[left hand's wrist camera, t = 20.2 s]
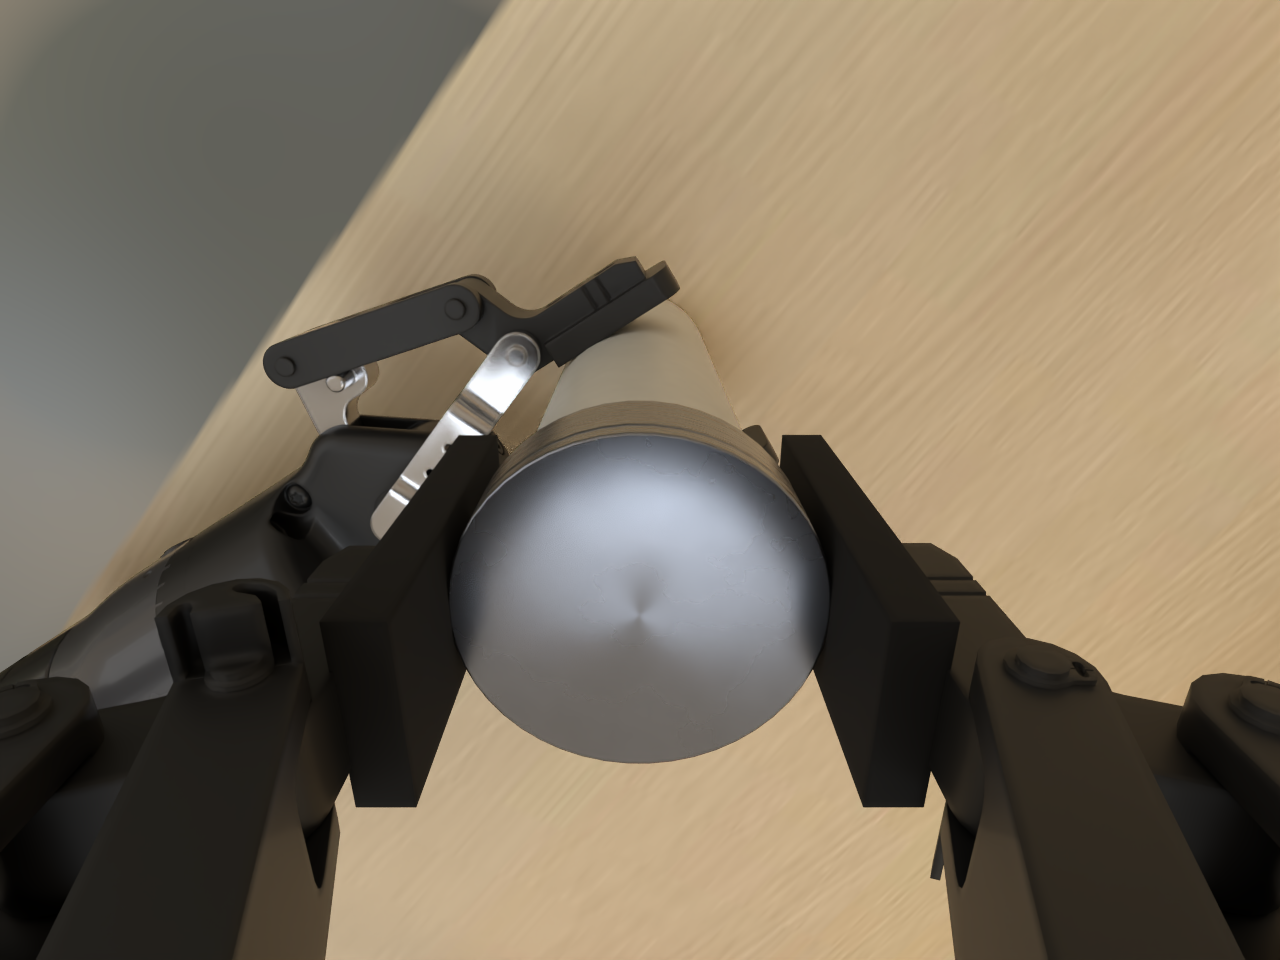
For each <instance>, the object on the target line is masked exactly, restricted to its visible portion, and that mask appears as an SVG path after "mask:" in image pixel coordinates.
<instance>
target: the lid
mask: <svg viewBox="0 0 1280 960" xmlns="http://www.w3.org/2000/svg"><path fill="white" fill-rule="evenodd" d="M448 601H449V610H450V618H451V627H452V634H453V638H454V641H455V645H456V647H457V650H458V652H459V655H460V657H461V659H462V662H463V664H464V666H465V668H466V669H467V671H468V673H469V674H470V676H471V678H472V679H473V681H474V683H475V684H476V685H477V686H478V688H479V689H480V690H481V692H482V693H483V694H484V695H485V697H486V698H487V699H488V700H489V701H490V702H491V703H492V704H493V705H494V706H495V707H496V708H497V709H498V710H499V711H500V712H501V713H502V714H503V715H504V716H506V717H507V718H508V719H510V720H511V721H512V722H513V723H515V724H516V725H517V726H519V727H520V728H521V729H523V730H525V731H526V732H528V733H530V734H531V735H533V736H535V737H536V738H538V739H540V740H542V741H544V742H546V743H549V744H551V745H553V746H555V747H557V748H560V749H562V750H565V751H568V752H571V753H574V754H578V755H581V756H584V757H589V758H594V759H598V760H603V761H611V762H620V763H659V762H669V761H676V760H681V759H686V758H691V757H695V756H698V755H701V754H705V753H708V752H711V751H714V750H717V749H719V748H722V747H724V746H726V745H728V744H731V743H733V742H735V741H737V740H739V739H741V738H743V737H744V736H746V735H748V734H749V733H751V732H753V731H755V730H756V729H758V728H759V727H760V726H762V725H763V724H764V723H766V722H767V721H768V720H770V719H771V718H772V717H774V716H775V715H776V714H777V713H778V712H779V711H780V710H781V709H782V708H783V707H784V706H785V705H786V704H787V703H789V701H790V700H791V699H792V698H793V697H794V695H795V694H796V693H797V692H798V690H799V689H800V688H801V687H802V686H803V684H804V682H805V681H806V679H807V678H808V676H809V674H810V673H811V671H812V670H813V668H814V666H815V664H816V662H817V659H818V657H819V655H820V653H821V650H822V648H823V645H824V641H825V638H826V634H827V630H828V623H829V614H830V606H831V580H830V574H829V569H828V563H827V559H826V556H825V553H824V551H823V548H822V545H821V542H820V539H819V537H818V535H817V533H816V531H815V530H814V528H813V526H812V524H811V522H810V520H809V518H808V516H807V514H806V512H805V510H804V508H803V506H802V504H801V503H800V501H799V499H798V497H797V495H796V493H795V491H794V489H793V487H792V485H791V483H790V482H789V480H788V478H787V476H786V475H785V474H784V472H783V471H782V470H781V468H780V467H779V465H778V464H777V463H776V461H775V460H774V459H773V458H772V457H771V456H770V455H769V454H768V453H767V452H766V451H765V450H764V449H763V448H762V447H761V446H760V445H759V444H758V443H757V442H755V441H754V440H753V439H752V438H750V437H749V436H748V435H746V434H745V433H744V432H743V431H741V430H739V429H738V428H736V427H734V426H733V425H731V424H729V423H727V422H726V421H724V420H722V419H720V418H718V417H715V416H713V415H710V414H708V413H705V412H703V411H701V410H697V409H694V408H690V407H686V406H682V405H679V404H673V403H666V402H658V401H621V402H613V403H605V404H601V405H597V406H593V407H589V408H585V409H581V410H579V411H576V412H574V413H571V414H569V415H566V416H564V417H561V418H559V419H557V420H555V421H554V422H552V423H550V424H548V425H546V426H545V427H543V428H541V429H539V430H538V431H537V432H535V433H534V434H533V435H531V436H530V437H529V438H527V439H526V440H525V441H523V442H522V443H521V444H520V445H519V446H518V447H517V448H516V449H515V450H514V451H513V452H512V453H511V454H510V455H509V456H508V457H507V458H506V459H505V460H504V462H503V463H502V464H501V466H500V467H499V468H498V470H497V471H496V472H495V474H494V475H493V477H492V478H491V480H490V482H489V484H488V486H487V488H486V489H485V491H484V493H483V495H482V497H481V499H480V501H479V503H478V504H477V506H476V508H475V510H474V512H473V514H472V516H471V518H470V520H469V522H468V524H467V526H466V527H465V529H464V531H463V533H462V535H461V537H460V540H459V542H458V545H457V548H456V551H455V553H454V556H453V559H452V564H451V569H450V574H449V579H448Z"/></svg>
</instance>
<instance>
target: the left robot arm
mask: <svg viewBox="0 0 1280 960" xmlns="http://www.w3.org/2000/svg"><path fill="white" fill-rule="evenodd" d="M499 467H500V464H499V452H498V439H497V435H458V437H457V438H456V439H455V441H454V442H453V443H452V445H451V446H450V447H449V449H448V450H447V451H446V453H445V454H444V455H443V457H442V458H441V459H440V461H439V462H438V463H437V465H436V466H435V467H434V469H433V470H432V471H431V473H430V474H429V475H428V477H427V478H426V479H425V481H424V482H423V483H422V485H421V486H420V488H419V489H418V490H417V492H416V493H415V494H414V496H413V497H412V498H411V500H410V501H409V502H408V504H407V505H406V506H405V508H404V509H403V510H402V512H401V513H400V514H399V516H398V517H397V518H396V520H395V521H394V522H393V524H392V525H391V526H390V528H389V529H388V530H387V532H386V533H385V534H384V536H383V537H382V538H381V540H380V541H379V542H378V544H377V545H356V546H347V547H346V548H344V549H342V550H341V551H339V552H337V553H336V554H334V555H332V556H331V557H329V558H327V559H325V560H324V561H322V563H321V564H320V565H319V566H318V567H317V568H316V570H315V571H314V572H313V573H312V574H311V575H310V577H309V578H308V579H307V583H303V585H302V586H301V587H300V588H299V589H298V590H297V592H296V593H295V594H294V598H291V596H290V591H289V588H287V587H286V586H284V585H283V584H281V583H280V582H279V581H273V580H268V579H263V578H250V579H235V580H230V581H226V582H221V583H216V584H211V585H209V586H206V587H203V588H200V589H198V590H195V591H192V592H190V593H187V594H185V595H184V596H182V597H180V598H178V599H177V600H175V601H173V602H171V603H170V604H168V605H167V606H166V607H165V608H164V609H163V610H162V611H161V612H160V613H159V614H158V615H157V616H156V617H155V618H154V620H155V623H156V627H157V630H158V633H159V637H160V640H161V643H162V647H163V650H164V653H165V657H166V660H167V663H168V667H169V670H170V673H171V677H172V680H173V684H172V686H171V688H170V690H169V692H168V694H167V695H166V696H163V697H159V698H154V699H149V700H144V701H139V702H134V703H129V704H124V705H118V706H113V707H108V708H103V709H98V710H97V707H96V704H95V702H94V699H93V696H92V693H91V690H90V688H89V686H88V685H86V684H85V683H83V682H82V681H81V680H79V679H77V678H68V677H58V676H57V677H49V678H42V679H30V680H26V681H21V682H17V684H15V685H13V684H10V685H7V686H4V687H1V688H0V960H325V955H326V947H327V939H328V930H329V922H330V913H331V905H332V896H333V888H334V880H335V871H336V863H337V854H338V846H339V837H340V829H339V823H338V817H337V812H336V807H335V803H334V802H335V800H336V798H337V796H338V794H339V792H340V790H341V788H342V786H343V784H344V782H345V780H346V778H347V776H348V774H349V775H350V780H351V785H352V790H353V795H354V800H355V805H356V807H417V804H418V801H419V798H420V796H421V793H422V790H423V787H424V785H425V782H426V779H427V776H428V774H429V771H430V768H431V765H432V763H433V760H434V757H435V754H436V752H437V749H438V746H439V743H440V741H441V738H442V735H443V732H444V730H445V727H446V724H447V721H448V719H449V716H450V713H451V710H452V708H453V705H454V702H455V699H456V697H457V694H458V691H459V688H460V686H461V683H462V680H463V677H464V675H465V672H466V668H465V666H464V664H463V662H462V659H461V657H460V655H459V652H458V650H457V647H456V645H455V641H454V638H453V634H452V627H451V618H450V610H449V601H448V579H449V574H450V569H451V564H452V559H453V556H454V553H455V551H456V548H457V545H458V542H459V540H460V537H461V535H462V533H463V531H464V529H465V527H466V526H467V524H468V522H469V520H470V518H471V516H472V514H473V512H474V510H475V508H476V506H477V504H478V503H479V501H480V499H481V497H482V495H483V493H484V491H485V489H486V488H487V486H488V484H489V482H490V480H491V478H492V477H493V475H494V474H495V472H496V471H497V470H498V468H499ZM780 468H781V470H782V471H783V472H784V474H785V475H786V476H787V478H788V480H789V482H790V483H791V485H792V487H793V489H794V491H795V493H796V495H797V497H798V499H799V501H800V503H801V504H802V506H803V508H804V510H805V512H806V514H807V516H808V518H809V520H810V522H811V524H812V526H813V528H814V530H815V531H816V533H817V535H818V537H819V539H820V542H821V545H822V548H823V551H824V553H825V556H826V559H827V563H828V569H829V574H830V580H831V606H830V614H829V623H828V630H827V634H826V638H825V641H824V645H823V648H822V650H821V653H820V655H819V657H818V659H817V662H816V664H815V666H814V668H813V670H814V673H815V676H816V678H817V681H818V684H819V687H820V690H821V692H822V695H823V698H824V701H825V703H826V706H827V709H828V712H829V714H830V717H831V720H832V723H833V725H834V728H835V731H836V734H837V736H838V739H839V742H840V745H841V747H842V750H843V753H844V756H845V758H846V761H847V764H848V767H849V769H850V772H851V775H852V778H853V780H854V783H855V786H856V789H857V791H858V794H859V797H860V800H861V802H862V805H863V807H924V803H925V798H926V793H927V788H928V783H929V778H930V773H931V771H932V773H933V775H934V777H935V779H936V781H937V783H938V785H939V787H940V789H941V791H942V793H943V795H944V797H945V799H946V803H945V807H944V812H943V817H942V821H941V826H940V831H939V836H938V840H937V845H936V850H935V854H934V859H933V864H932V870H931V876H930V878H932V879H936V880H940V878H941V874H942V869H943V865H944V869H945V878H946V886H947V894H948V903H949V911H950V920H951V928H952V937H953V945H954V953H955V960H1280V684H1278V683H1275V682H1272V681H1269V680H1268V681H1264V679H1261V678H1257V677H1252V676H1242V675H1234V674H1226V673H1219V674H1210V675H1202V676H1201V677H1199V678H1198V679H1197V680H1195V681H1194V682H1192V683H1191V686H1190V689H1189V691H1188V694H1187V697H1186V700H1185V703H1184V706H1178V705H1173V704H1168V703H1163V702H1158V701H1152V700H1147V699H1142V698H1137V697H1132V696H1127V695H1122V694H1118V693H1114V692H1112V691H1111V689H1110V687H1109V685H1108V683H1107V681H1106V680H1105V679H1104V677H1103V676H1102V675H1101V674H1100V672H1099V671H1098V670H1097V669H1096V668H1095V667H1094V666H1093V665H1091V664H1090V663H1088V662H1087V661H1085V660H1084V659H1082V658H1081V657H1080V656H1078V655H1077V654H1075V653H1072V652H1070V651H1068V650H1065V649H1063V648H1061V647H1058V646H1056V645H1054V644H1050V643H1046V642H1042V641H1038V640H1034V639H1029V638H1026V637H1025V636H1024V635H1023V634H1022V633H1021V632H1020V630H1019V629H1018V628H1017V627H1016V626H1015V625H1014V624H1013V622H1012V621H1011V620H1010V619H1009V618H1008V617H1007V615H1006V614H1005V613H1004V612H1003V611H1002V610H1001V609H1000V607H999V606H998V605H997V604H996V603H995V602H994V600H993V599H992V598H991V597H990V596H986V591H985V590H984V589H983V588H982V587H981V586H980V584H979V583H978V582H977V581H976V580H973V576H972V575H971V574H970V573H969V572H968V571H967V569H966V568H965V567H964V566H963V565H962V564H961V562H960V561H959V560H958V559H957V558H955V557H954V556H952V555H950V554H948V553H947V552H945V551H943V550H942V549H940V548H938V547H936V546H935V545H933V544H931V543H901V542H900V540H899V539H898V538H897V536H896V535H895V534H894V532H893V531H892V530H891V528H890V527H889V526H888V524H887V523H886V522H885V520H884V519H883V518H882V516H881V515H880V514H879V512H878V511H877V510H876V508H875V507H874V506H873V504H872V503H871V501H870V500H869V499H868V497H867V496H866V495H865V493H864V492H863V491H862V489H861V488H860V487H859V485H858V484H857V483H856V481H855V480H854V479H853V477H852V476H851V475H850V473H849V472H848V471H847V469H846V468H845V467H844V465H843V464H842V463H841V461H840V460H839V459H838V457H837V456H836V455H835V453H834V452H833V451H832V449H831V448H830V447H829V445H828V444H827V443H826V441H825V440H824V439H823V437H822V436H821V435H782V446H781V459H780Z"/></svg>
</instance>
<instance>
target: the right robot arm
mask: <svg viewBox="0 0 1280 960" xmlns="http://www.w3.org/2000/svg"><path fill="white" fill-rule="evenodd" d="M679 289H680V287H679V285H678V283H677V281H676V279H675V277H674V276H673V274H672V272H671V271H670V269H669V267H668V265H667V264H666V262H665V261H662V262H660V263H658V264H656V265H654V266H653V267H651V268H649V269H648V270H646V271H645V270H644V269H643V267H642V265H641V264H640V262H639V260H638V259H637V257H636V256H634V257H629V258H623V259H618V260H615V261H614V262H612V263H611V264H609V265H608V266H606V267H605V268H603V269H602V270H600V271H599V272H597V273H595V274H594V275H592V276H591V277H589V278H588V279H586V280H585V281H583V282H582V283H580V284H579V285H577V286H576V287H574V288H573V289H571V290H569V291H568V292H566V293H565V294H563V295H562V296H560V297H559V298H557V299H556V300H554V301H553V302H551V303H550V304H548V305H547V306H545V307H543V308H541V309H537V310H524V309H521V308H519V307H517V306H515V305H514V304H512V303H511V302H509V301H508V300H507V299H506V298H504V297H503V296H502V295H500V294H499V293H498V292H496V289H495V287H494V285H493V284H492V282H491V281H490V280H489V279H487V278H486V277H484V276H481V275H477V274H471V275H467V276H464V277H461V278H458V279H456V280H453V281H450V282H447V283H444V284H441V285H438V286H435V287H432V288H429V289H426V290H423V291H421V292H418V293H415V294H412V295H409V296H406V297H403V298H400V299H397V300H394V301H391V302H389V303H386V304H383V305H380V306H377V307H374V308H371V309H368V310H365V311H362V312H359V313H356V314H354V315H351V316H348V317H345V318H342V319H339V320H336V321H333V322H330V323H327V324H324V325H322V326H319V327H316V328H313V329H311V330H308V331H306V332H303V333H301V334H298V335H296V336H294V337H291V338H289V339H286V340H284V341H282V342H279V343H277V344H275V345H272V346H271V347H269V348H268V349H267V351H266V352H265V354H264V357H263V366H264V370H265V372H266V374H267V376H268V377H269V378H270V379H271V380H272V381H273V382H274V383H275V384H277V385H278V386H281V387H283V388H288V389H294V388H295V389H296V391H297V393H298V395H299V397H300V398H301V400H302V402H303V404H304V406H305V408H306V410H307V412H308V414H309V416H310V418H311V420H312V422H313V424H314V426H315V428H316V429H317V431H318V433H319V436H318V437H317V438H316V440H315V441H314V442H313V444H312V446H311V448H310V451H309V454H308V456H307V458H306V460H305V462H304V464H303V465H302V466H301V467H300V468H299V469H297V470H296V471H294V472H293V473H291V474H290V475H288V476H287V477H285V478H283V479H282V480H280V481H279V482H277V483H276V484H274V485H273V486H271V487H270V488H268V489H267V490H265V491H264V492H262V493H261V494H259V495H257V496H256V497H254V498H253V499H251V500H250V501H248V502H247V503H245V504H244V505H242V506H241V507H239V508H238V509H236V510H235V511H233V512H231V513H230V514H228V515H227V516H225V517H224V518H222V519H221V520H219V521H218V522H216V523H215V524H213V525H211V526H210V527H208V528H207V529H205V530H204V531H202V532H201V533H199V534H198V535H196V536H195V537H193V538H190V539H187V540H185V541H183V542H181V543H179V544H177V545H175V546H173V547H171V548H170V549H168V550H167V551H165V552H164V554H163V555H162V556H161V557H160V558H161V559H159V560H158V561H156V562H155V563H153V564H152V565H150V566H149V567H147V568H145V569H144V570H142V571H141V572H139V573H138V574H136V575H135V576H133V577H132V578H131V579H129V580H128V581H126V582H125V583H124V584H123V585H121V586H120V587H119V588H118V589H117V590H115V591H114V592H113V593H112V594H111V595H110V596H108V597H107V598H106V599H105V600H104V601H103V602H102V603H101V604H100V605H99V606H98V607H97V608H96V609H95V610H94V611H93V612H91V613H90V614H89V615H87V616H86V617H85V618H83V619H82V620H80V621H79V622H77V623H76V624H74V625H72V626H71V627H69V628H68V629H66V630H65V631H63V632H62V633H60V634H59V635H57V636H55V637H54V638H52V639H51V640H49V641H48V642H46V643H45V644H43V645H42V646H40V647H38V648H37V649H35V650H34V651H33V652H31V653H30V654H28V655H27V656H25V657H23V658H22V659H20V660H19V661H17V662H16V663H14V664H13V665H11V666H10V667H8V668H7V669H5V670H4V671H2V672H1V673H0V688H1V687H4V686H7V685H10V684H13V685H15V684H17V682H21V681H26V680H30V679H42V678H49V677H57V676H58V677H68V678H77V679H79V680H81V681H82V682H83V683H85V684H86V685H88V686H89V688H90V690H91V693H92V696H93V699H94V702H95V704H96V707H97V710H98V709H103V708H108V707H113V706H118V705H124V704H129V703H134V702H139V701H144V700H149V699H154V698H159V697H163V696H166V695H167V694H168V692H169V690H170V688H171V686H172V684H173V680H172V677H171V673H170V670H169V667H168V663H167V660H166V657H165V653H164V650H163V647H162V643H161V640H160V637H159V633H158V630H157V627H156V623H155V620H154V618H155V617H156V616H157V615H158V614H159V613H160V612H161V611H162V610H163V609H164V608H165V607H166V606H167V605H168V604H170V603H171V602H173V601H175V600H177V599H178V598H180V597H182V596H184V595H185V594H187V593H190V592H192V591H195V590H198V589H200V588H203V587H206V586H209V585H211V584H216V583H221V582H226V581H230V580H235V579H250V578H263V579H268V580H273V581H279V582H280V583H281V584H283V585H284V586H286V587H287V588H289V591H290V596H291V598H294V594H295V593H296V592H297V590H298V589H299V588H300V587H301V586H302V585H303V583H307V579H308V578H309V577H310V575H311V574H312V573H313V572H314V571H315V570H316V568H317V567H318V566H319V565H320V564H321V563H322V561H324V560H325V559H327V558H329V557H331V556H332V555H334V554H336V553H337V552H339V551H341V550H342V549H344V548H346V547H347V546H356V545H377V544H378V542H379V541H380V540H381V538H382V537H383V536H384V534H385V533H386V532H387V530H388V529H389V528H390V526H391V525H392V524H393V522H394V521H395V520H396V518H397V517H398V516H399V514H400V513H401V512H402V510H403V509H404V508H405V506H406V505H407V504H408V502H409V501H410V500H411V498H412V497H413V496H414V494H415V493H416V492H417V490H418V489H419V488H420V486H421V485H422V483H423V482H424V481H425V479H426V478H427V477H428V475H429V474H430V473H431V471H432V470H433V469H434V467H435V466H436V465H437V463H438V462H439V461H440V459H441V458H442V457H443V455H444V454H445V453H446V451H447V450H448V449H449V447H450V446H451V445H452V443H453V442H454V441H455V439H456V438H457V437H458V435H495V433H494V432H493V431H491V430H492V429H493V428H494V426H495V425H496V423H497V422H498V420H499V419H500V418H501V416H502V415H503V414H504V412H505V411H506V410H507V408H508V407H509V406H510V404H511V403H512V401H513V400H514V399H515V397H516V396H517V395H518V393H519V392H520V391H521V389H522V388H523V387H524V385H525V384H526V383H527V381H528V380H529V379H530V377H531V376H532V375H533V373H534V372H536V371H538V370H539V369H541V368H542V367H544V366H545V365H547V364H549V363H550V362H552V361H553V360H554V361H555V363H556V364H557V366H558V367H561V366H562V365H564V364H565V363H567V362H568V361H570V360H572V359H573V358H575V357H576V356H578V355H580V354H581V353H583V352H584V351H585V350H587V349H588V348H590V347H591V346H593V345H595V344H597V343H598V342H600V341H602V340H603V339H605V338H607V337H608V336H610V335H611V334H613V333H615V332H616V331H618V330H619V329H621V328H622V327H624V326H626V325H627V324H629V323H630V322H632V321H634V320H635V319H637V318H638V317H640V316H642V315H643V314H645V313H646V312H648V311H649V310H651V309H653V308H654V307H656V306H657V305H659V304H661V303H662V302H664V301H665V300H667V299H668V298H670V297H671V296H673V295H674V294H675V293H676V292H677V291H678V290H679ZM457 334H460V335H461V336H462V337H464V338H465V339H466V340H468V341H469V342H470V343H472V344H473V345H475V346H476V347H477V348H479V349H480V350H481V351H483V352H484V353H485V354H487V357H486V358H485V360H484V361H483V362H482V364H481V365H480V367H479V368H478V369H477V371H476V372H475V374H474V375H473V376H472V378H471V379H470V381H469V382H468V383H467V385H466V386H465V388H464V389H463V390H462V392H461V393H460V394H459V396H458V397H457V398H456V399H455V401H454V402H453V403H452V405H451V406H450V407H449V409H448V410H447V411H446V413H445V414H444V416H443V417H442V418H441V420H432V419H418V418H403V417H389V416H374V415H359V412H358V408H357V403H358V399H359V397H360V395H361V394H362V393H364V392H365V391H366V390H368V389H369V388H371V387H372V386H373V385H374V384H375V383H376V382H377V380H378V377H379V367H378V364H377V362H376V361H379V360H382V359H385V358H388V357H391V356H394V355H397V354H400V353H403V352H406V351H409V350H412V349H415V348H418V347H421V346H424V345H427V344H430V343H433V342H436V341H439V340H442V339H445V338H448V337H451V336H454V335H457ZM742 431H743V432H744V433H745V434H746V435H748V436H749V437H750V438H752V439H753V440H754V441H755V442H757V443H758V444H759V445H760V446H761V447H762V448H763V449H764V450H765V451H766V452H767V453H768V454H769V455H770V456H771V457H772V458H773V459H774V460H775V461H776V463H777V464H778V462H779V459H778V457H777V455H776V453H775V451H774V449H773V447H772V446H771V444H770V442H769V440H768V439H767V437H766V435H765V433H764V432H763V430H762V428H761V427H760V426H759V425H754V426H750V427H748V428H746V429H744V430H742ZM497 439H498V437H497ZM498 452H499V464H500V466H501V464H502V463H503V462H504V460H505V459H506V458H507V457H508V456H509V454H508V451H507V450H506V448H505V447H504V446H503V444H502V443H501V442H500V440H499V439H498Z"/></svg>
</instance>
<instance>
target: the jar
mask: <svg viewBox="0 0 1280 960" xmlns="http://www.w3.org/2000/svg"><path fill="white" fill-rule="evenodd" d="M621 401H658V402H666V403H673V404H679V405H682V406H686V407H690V408H694V409H697V410H701V411H703V412H705V413H708V414H710V415H713V416H715V417H718V418H720V419H722V420H724V421H726V422H727V423H729V424H731V425H733V426H734V427H736V428H738V429H739V430H741V431H742V429H741V427H740V425H739V422H738V420H737V418H736V415H735V413H734V411H733V408H732V406H731V404H730V401H729V399H728V397H727V394H726V392H725V390H724V388H723V385H722V383H721V381H720V378H719V376H718V374H717V371H716V369H715V367H714V364H713V362H712V360H711V357H710V355H709V353H708V350H707V348H706V346H705V344H704V341H703V339H702V337H701V334H700V332H699V330H698V328H697V326H696V325H695V323H694V322H693V320H692V319H691V318H690V317H689V316H688V314H687V313H686V312H685V311H684V310H682V309H681V308H680V307H678V306H677V305H676V304H674V303H672V302H671V301H668V300H665V301H664V302H662V303H661V304H659V305H657V306H656V307H654V308H653V309H651V310H649V311H648V312H646V313H645V314H643V315H642V316H640V317H638V318H637V319H635V320H634V321H632V322H630V323H629V324H627V325H626V326H624V327H622V328H621V329H619V330H618V331H616V332H615V333H613V334H611V335H610V336H608V337H607V338H605V339H603V340H602V341H600V342H598V343H597V344H595V345H593V346H591V347H590V348H588V349H587V350H585V351H584V352H583V353H581V354H580V355H578V356H576V357H575V358H573V359H572V360H570V361H568V362H567V363H566V365H565V367H564V370H563V372H562V374H561V377H560V379H559V381H558V384H557V386H556V388H555V391H554V393H553V395H552V397H551V400H550V402H549V404H548V407H547V409H546V411H545V414H544V416H543V418H542V421H541V423H540V425H539V427H538V430H539V429H541V428H543V427H545V426H546V425H548V424H550V423H552V422H554V421H555V420H557V419H559V418H561V417H564V416H566V415H569V414H571V413H574V412H576V411H579V410H581V409H585V408H589V407H593V406H597V405H601V404H605V403H613V402H621ZM538 430H537V431H538Z"/></svg>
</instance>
